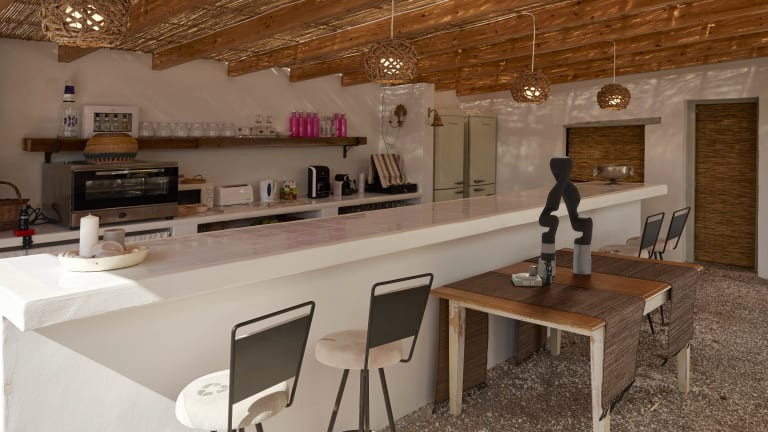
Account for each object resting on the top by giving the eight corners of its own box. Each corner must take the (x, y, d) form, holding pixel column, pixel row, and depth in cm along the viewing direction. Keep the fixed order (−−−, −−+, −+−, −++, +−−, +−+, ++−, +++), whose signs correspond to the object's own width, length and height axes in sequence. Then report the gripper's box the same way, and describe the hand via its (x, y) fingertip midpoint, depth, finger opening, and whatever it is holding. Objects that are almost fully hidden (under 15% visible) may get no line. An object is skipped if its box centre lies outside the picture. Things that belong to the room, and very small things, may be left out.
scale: (537, 280, 326) (537, 272, 325) (542, 286, 311) (542, 278, 311) (511, 279, 327) (512, 272, 327) (515, 285, 313) (515, 278, 312)
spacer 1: (536, 274, 321) (536, 265, 320) (537, 276, 316) (537, 267, 316) (528, 274, 321) (528, 265, 321) (529, 276, 317) (529, 267, 316)
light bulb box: (544, 273, 342) (544, 255, 341) (555, 274, 339) (556, 256, 337) (538, 277, 334) (538, 258, 332) (549, 278, 330) (550, 259, 328)
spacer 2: (550, 282, 320) (550, 273, 320) (552, 284, 316) (552, 274, 316) (542, 282, 321) (542, 273, 320) (543, 283, 316) (544, 274, 316)
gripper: (557, 253, 309) (557, 285, 311) (552, 249, 323) (551, 279, 325) (543, 253, 310) (542, 285, 312) (538, 249, 324) (538, 279, 326)
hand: (547, 282), depth 318 cm, fingers closed on spacer 2, 4 cm apart
